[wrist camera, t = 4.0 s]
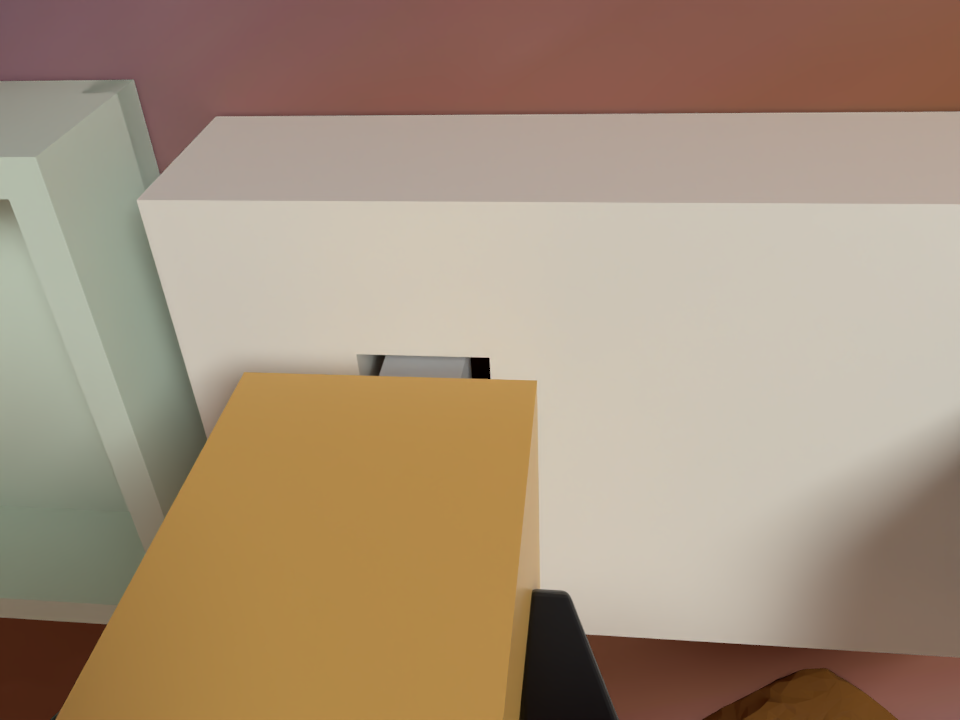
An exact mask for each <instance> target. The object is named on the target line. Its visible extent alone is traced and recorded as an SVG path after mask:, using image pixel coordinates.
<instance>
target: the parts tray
mask: <svg viewBox="0 0 960 720" xmlns="http://www.w3.org/2000/svg"><path fill="white" fill-rule="evenodd" d="M159 176H160V173H159V170H158V166H157V162H156V159H155V155H154V151H153V148H152V144H151V141H150V137H149V133H148V130H147V126H146V122H145V119H144V115H143V111H142V108H141V104H140V101H139V97H138V93H137V90H136V86H135V82H134V80H62V81H0V617H2V618H17V619H33V620H48V621H64V622H79V623H94V624H108V622H109V620H110V618H111V616H112V615H113V613H114V611H115V609H116V607H117V605H118V603H119V602H120V600H121V598H122V596H123V594H124V592H125V591H126V589H127V587H128V585H129V583H130V581H131V580H132V578H133V576H134V574H135V572H136V570H137V569H138V567H139V565H140V563H141V561H142V559H143V557H144V556H145V554H146V552H147V550H148V548H149V546H150V545H151V543H152V541H153V539H154V537H155V535H156V534H157V532H158V530H159V528H160V526H161V524H162V522H163V521H164V519H165V517H166V515H167V513H168V511H169V510H170V508H171V506H172V504H173V502H174V500H175V499H176V497H177V495H178V493H179V491H180V489H181V487H182V486H183V484H184V482H185V480H186V478H187V476H188V475H189V473H190V471H191V469H192V467H193V465H194V464H195V462H196V460H197V458H198V456H199V454H200V452H201V451H202V449H203V447H204V445H205V443H206V441H207V437H206V433H205V430H204V426H203V423H202V420H201V416H200V413H199V410H198V406H197V403H196V400H195V396H194V393H193V389H192V386H191V383H190V379H189V376H188V373H187V369H186V366H185V362H184V359H183V356H182V352H181V349H180V346H179V342H178V339H177V335H176V332H175V329H174V325H173V322H172V319H171V315H170V312H169V308H168V305H167V302H166V298H165V295H164V292H163V288H162V285H161V281H160V278H159V275H158V271H157V268H156V265H155V261H154V258H153V254H152V251H151V248H150V244H149V241H148V238H147V234H146V231H145V227H144V224H143V221H142V217H141V214H140V211H139V207H138V204H137V199H138V198H139V197H140V196H141V195H142V194H143V193H144V192H145V190H146V189H147V188H148V187H149V186H150V185H151V184H152V183H153V182H154V181H155V180H156V179H157V178H158V177H159Z"/></svg>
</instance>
